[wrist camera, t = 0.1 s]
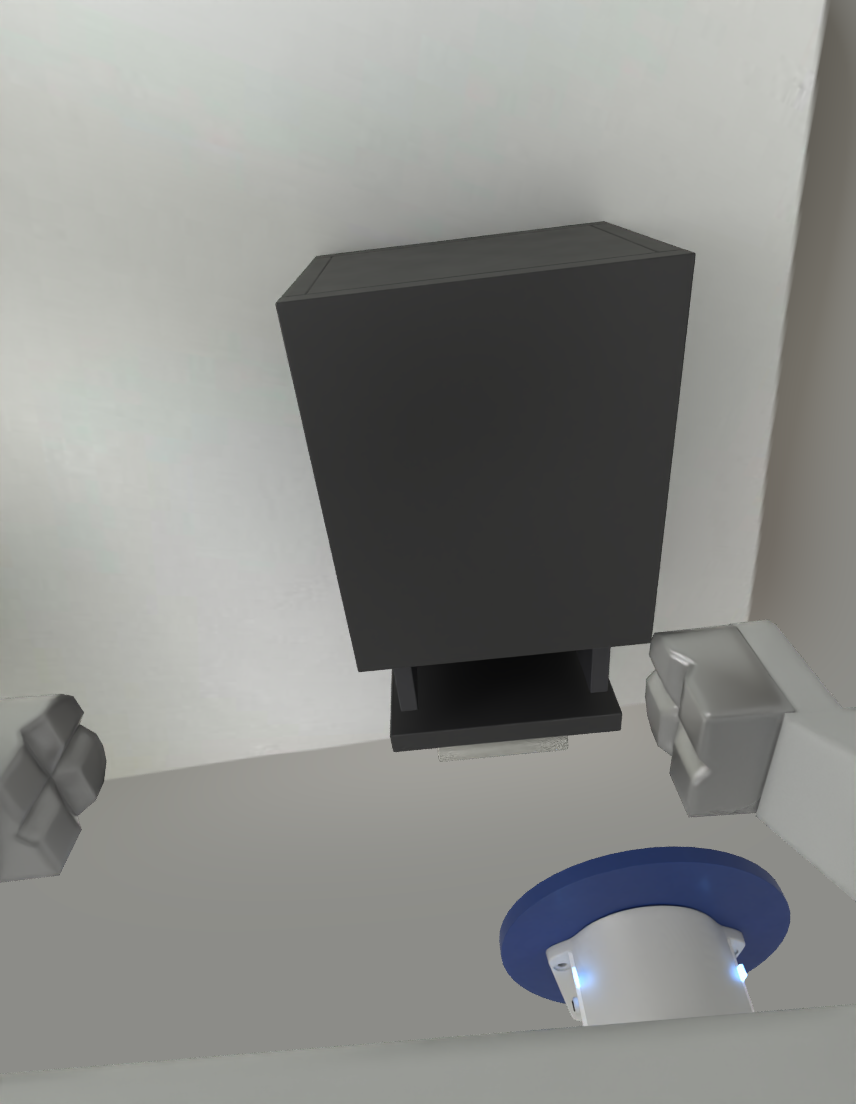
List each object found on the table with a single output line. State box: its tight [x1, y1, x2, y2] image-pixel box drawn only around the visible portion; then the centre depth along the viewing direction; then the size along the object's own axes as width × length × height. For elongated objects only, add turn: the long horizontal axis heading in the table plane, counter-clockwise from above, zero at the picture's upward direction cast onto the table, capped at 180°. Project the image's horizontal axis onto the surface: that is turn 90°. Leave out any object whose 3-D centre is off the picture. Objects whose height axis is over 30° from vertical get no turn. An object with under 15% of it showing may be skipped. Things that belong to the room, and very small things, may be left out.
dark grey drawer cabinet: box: [275, 221, 696, 672], centre depth 26 cm, size 15×12×10 cm
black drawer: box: [390, 647, 622, 762], centre depth 31 cm, size 18×11×8 cm, turn 6°
